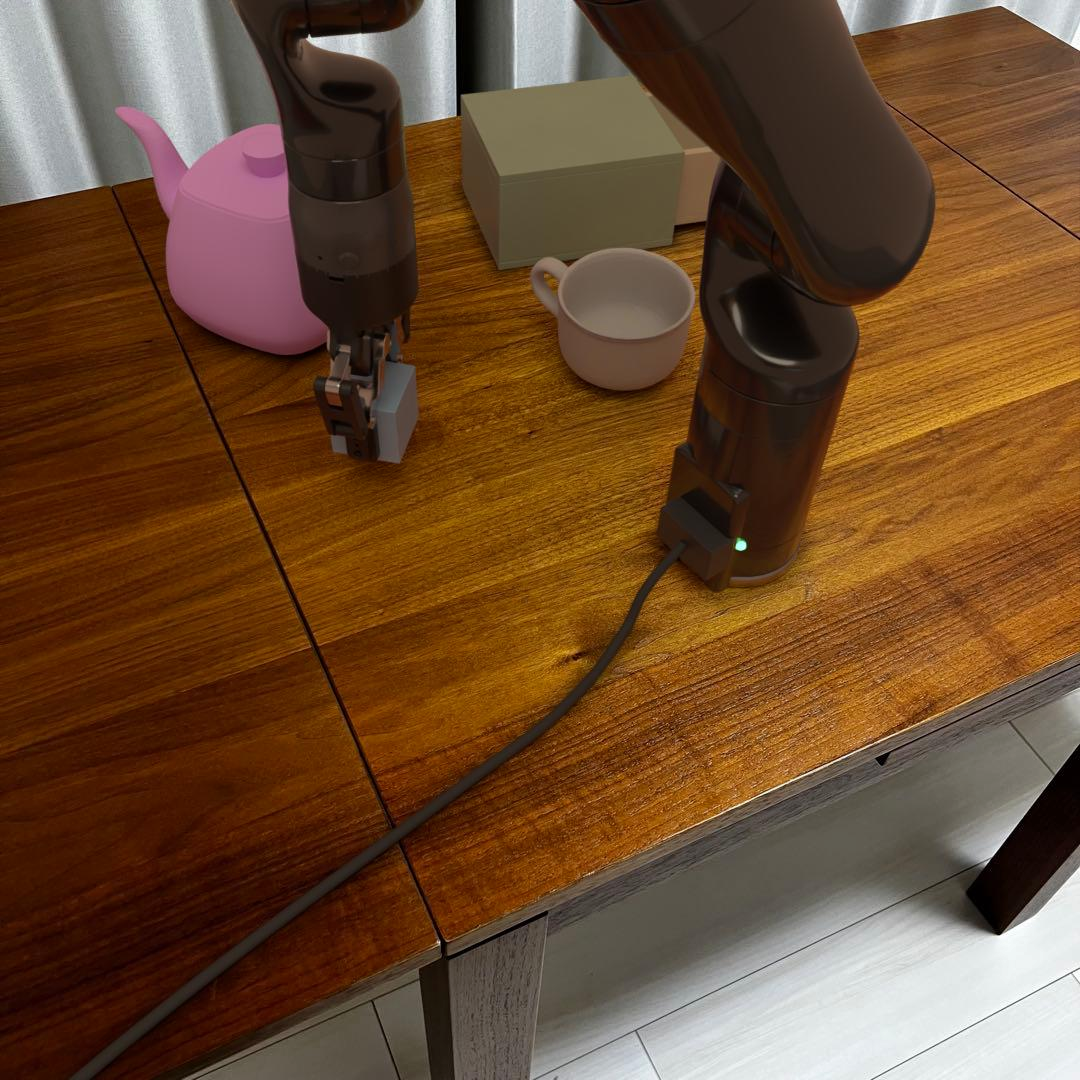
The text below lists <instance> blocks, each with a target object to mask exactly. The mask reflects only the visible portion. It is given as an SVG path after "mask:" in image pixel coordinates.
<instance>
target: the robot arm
mask: <svg viewBox="0 0 1080 1080" xmlns="http://www.w3.org/2000/svg"><path fill="white" fill-rule="evenodd" d="M229 1H230V4H231V6H232V8H233V11H234V12H235V14H236V16H237V18H238V20H239V22H240V25H241V26H242V29H243V30H244V32H245V34H246V36H247V38H248V40H249V43H250V44H251V46H252V49H253V50H254V52H255V54H256V57H257V58H258V61H259V63H260V66H261V68H262V70H263V73H264V75H265V78H266V80H267V84H268V87H269V88H270V92H271V95H272V98H273V102H274V105H275V110H276V114H277V120H278V125H279V126H280V131H281V138H282V144H283V151H284V157H285V164H286V170H287V178H288V210H289V217H290V223H291V229H292V236H293V242H294V249H295V256H296V262H297V268H298V275H299V281H300V288H301V294H302V298H303V301H304V303H305V305H306V306H307V308H308V309H309V310H310V311H311V312H312V313H313V314H314V315H315V316H316V317H317V318H319V319H320V320H321V321H322V322H323V323H324V324H325V325H326V326H327V327H328V331H327V342H326V349H327V352H328V353H329V356H330V357H329V359H330V361H329V362H330V364H329V365H330V366H329V375H328V376H325V375H319V374H317V375H316V376H315V378H314V381H313V384H312V388H313V393H314V397H315V399H316V402H317V404H318V408H319V411H320V415H321V417H322V421H323V423H324V427H325V429H326V432H327V435H329V436H330V435H334V436H336V435H338V436H343V437H345V440H346V447H347V454H348V455H347V454H346V455H347V456H348V458H350V459H351V460H354V461H360V462H365V463H371V464H375V463H377V462H378V461H379V460H378V457H379V455H380V447H379V438H378V429H377V417H376V411H377V398H378V397H379V396H380V394H381V393H382V392H383V391H384V386H385V361H389V362H395V363H401V364H403V362H404V360H405V355H404V350H403V345H404V344H406V345H407V344H408V343H409V340H410V339H411V332H410V331H411V307H412V306H413V305H414V304H415V302H416V301H417V297H418V294H419V289H420V286H419V285H420V283H419V269H418V267H419V266H418V254H417V253H418V252H417V238H416V237H417V236H416V235H417V234H416V219H415V205H414V196H413V191H412V186H411V182H410V178H409V173H408V166H407V151H406V139H405V138H406V137H405V119H404V118H405V117H404V105H403V96H402V91H401V87H400V85H399V82H398V80H397V78H396V76H395V75H394V73H393V72H392V71H391V70H390V69H389V68H387V67H386V66H385V65H383V64H381V63H379V62H378V61H376V60H373V59H370V58H367V57H364V56H359V55H354V54H350V53H344V52H337V51H333V50H328V49H324V48H322V47H319V46H317V45H315V44H312V43H311V42H310V41H309V40H308V39H309V37H310V38H311V39H316V38H317V39H319V38H326V37H328V38H329V37H337V36H338V37H340V36H349V35H351V36H352V35H367V34H380V33H386V32H387V33H388V32H390V31H394V30H397V29H399V28H401V27H403V26H405V25H406V24H407V23H409V22H410V21H411V20H412V19H414V17H415V16H417V14H418V13H419V11H420V10H421V8H422V6H423V4H424V2H425V0H229ZM572 1H573V3H574V4H575V5H576V7H577V8H578V9H579V11H580V12H581V14H582V15H583V16H584V18H585V20H586V21H587V22H588V23H589V24H590V26H591V28H592V29H593V30H594V32H595V33H596V34H597V36H598V37H599V38H600V39H601V41H602V42H603V43H604V45H605V46H606V47H608V49H609V50H610V51H611V52H612V54H614V55H615V57H616V58H617V59H618V60H619V61H620V62H621V64H622V65H623V66H624V67H625V68H626V69H627V70H628V71H629V73H630V74H631V75H633V76H634V77H635V78H636V80H637V81H638V83H639V84H640V85H641V86H642V87H644V88H645V90H647V92H650V93H651V94H652V96H653V97H654V98H656V99H657V100H658V101H659V102H660V103H661V104H662V105H663V106H664V107H665V108H666V109H667V110H668V111H669V112H670V113H671V114H672V115H673V116H674V117H675V118H676V119H677V120H678V121H680V122H681V123H682V124H683V125H684V126H685V127H686V128H687V129H688V130H689V131H691V132H692V133H693V134H694V135H695V136H696V137H697V138H698V139H700V140H701V141H702V142H703V143H704V144H705V145H706V146H707V147H709V148H710V149H711V150H712V151H713V152H714V153H715V154H716V155H718V156H719V157H720V160H719V163H718V166H717V169H716V172H715V176H714V179H713V183H712V188H711V193H710V198H709V204H708V211H707V219H706V221H705V229H704V239H703V250H702V258H701V267H700V277H699V286H698V287H699V288H698V308H699V313H700V318H701V321H702V323H703V324H702V325H703V327H704V339H703V344H702V345H703V346H702V352H701V356H700V363H699V369H698V374H697V378H696V383H695V390H694V396H693V401H692V406H691V411H690V418H689V423H688V427H687V428H688V429H687V435H686V440H685V442H683V443H680V444H679V445H677V446H675V449H674V451H673V458H672V464H671V470H670V475H669V481H668V486H667V487H668V488H667V493H666V500H665V504H664V505H662V506H661V507H660V511H659V517H658V523H657V528H656V537H658V538H659V541H660V542H661V543H662V544H663V545H664V546H665V547H666V548H667V549H668V550H669V551H668V553H667V554H666V555H665V556H664V557H663V558H662V559H661V561H660V562H659V563H658V564H657V565H656V567H654V568H653V570H652V571H651V573H649V574H648V576H647V578H645V580H644V582H643V583H642V584H641V586H640V587H639V589H638V591H637V593H636V594H635V596H634V598H633V600H632V602H631V605H630V607H629V609H628V611H627V614H626V616H625V619H624V620H623V622H622V624H621V626H620V627H619V629H618V630H617V632H616V633H615V635H614V637H613V638H612V640H611V641H610V643H609V645H608V646H607V647H606V649H605V650H604V652H603V653H602V654H601V656H600V657H599V659H598V660H597V661H596V662H595V664H594V665H593V667H592V668H591V669H590V670H589V672H588V673H587V674H586V675H585V676H584V677H583V678H582V679H581V681H579V683H577V685H575V687H573V689H572V690H571V691H570V692H569V693H568V694H567V695H566V696H565V697H564V698H563V699H562V700H561V701H560V702H559V703H558V704H557V705H556V706H555V707H554V708H553V709H552V710H551V711H549V712H548V713H547V714H546V715H545V716H544V717H543V718H542V719H540V720H539V721H538V722H537V723H536V724H535V725H533V726H532V727H530V728H529V729H528V730H526V731H525V732H524V733H522V734H521V735H520V736H518V737H517V738H516V739H514V740H513V741H512V742H510V743H509V744H507V745H506V746H504V747H503V748H502V749H501V750H499V751H498V752H497V753H495V754H493V755H492V756H490V757H489V758H488V759H487V760H485V761H484V762H482V763H481V764H479V765H478V766H477V767H475V768H474V769H472V770H471V772H469V773H467V774H466V775H465V776H464V777H462V778H461V779H459V780H458V781H457V782H456V783H454V784H453V785H451V786H450V787H449V788H447V789H446V790H445V791H443V792H442V793H440V795H437V796H436V797H435V798H434V799H433V800H431V801H430V802H429V803H427V804H425V805H424V806H423V807H422V808H420V809H419V810H417V811H416V812H415V813H413V814H412V815H411V816H409V817H408V818H407V819H405V820H404V821H402V822H401V823H400V824H398V825H397V826H396V827H394V828H393V829H391V830H390V831H389V832H387V833H386V834H385V835H383V836H382V837H381V838H379V839H377V841H374V842H373V844H370V845H369V846H368V847H367V848H366V849H364V850H363V851H362V852H360V853H358V854H357V855H356V856H354V857H353V858H352V859H350V860H349V861H347V863H344V865H342V866H341V867H339V868H338V869H337V870H336V871H334V872H333V873H331V874H330V875H329V876H327V877H326V878H324V879H323V880H321V881H320V882H319V883H317V884H316V885H315V886H314V887H312V888H311V889H310V890H308V891H306V892H305V893H304V894H303V895H301V896H300V897H298V898H297V899H296V900H294V901H293V902H291V904H289V905H288V906H286V907H285V908H284V909H282V910H281V911H280V912H278V913H277V914H275V915H274V916H273V917H272V918H270V919H269V920H268V921H266V922H265V923H263V924H262V925H261V926H259V927H258V928H257V929H256V930H254V931H253V932H252V933H250V934H249V935H248V936H246V938H244V939H243V940H241V941H240V942H239V943H237V944H236V945H234V946H233V947H231V948H230V949H229V950H228V951H226V952H225V953H224V954H223V955H221V956H220V957H219V958H217V959H216V960H215V961H213V962H212V963H211V964H209V965H208V966H207V967H206V968H205V969H203V970H202V971H201V972H199V973H198V974H196V975H195V976H194V977H193V978H191V979H190V980H189V981H188V982H186V983H185V984H183V986H181V987H179V989H177V990H176V991H175V992H173V993H172V994H171V995H170V996H168V997H167V998H166V999H165V1000H163V1001H162V1002H161V1003H160V1004H158V1005H157V1006H156V1007H155V1008H154V1009H152V1010H151V1011H150V1012H148V1013H147V1014H146V1015H145V1016H144V1017H142V1018H141V1019H139V1020H138V1021H137V1022H136V1023H135V1024H133V1025H132V1026H131V1027H130V1028H128V1029H127V1030H126V1031H125V1032H124V1033H123V1034H121V1035H120V1036H119V1037H118V1038H116V1039H115V1040H114V1041H113V1042H112V1043H110V1044H109V1045H108V1046H107V1047H105V1048H104V1049H103V1050H102V1051H101V1052H99V1053H98V1054H97V1055H95V1056H94V1057H93V1058H92V1059H91V1060H90V1061H89V1062H87V1063H86V1064H84V1066H82V1067H81V1068H80V1069H79V1070H78V1071H76V1072H75V1073H74V1074H73V1075H72V1076H70V1077H69V1078H68V1079H67V1080H91V1079H93V1078H94V1077H95V1076H96V1075H98V1074H99V1073H100V1072H101V1071H102V1070H104V1069H105V1068H106V1067H107V1066H108V1065H109V1064H111V1063H112V1062H113V1061H114V1060H115V1059H117V1058H118V1057H119V1056H120V1055H122V1054H123V1053H124V1052H125V1051H126V1050H128V1049H129V1048H130V1047H131V1046H133V1045H134V1044H135V1043H136V1042H137V1041H138V1040H140V1039H141V1038H142V1037H144V1035H146V1034H147V1033H148V1032H149V1031H151V1030H152V1029H153V1028H154V1027H155V1026H157V1025H158V1024H159V1023H160V1022H162V1021H163V1020H164V1019H166V1018H167V1017H168V1016H169V1015H171V1013H173V1012H175V1010H177V1009H178V1008H179V1007H180V1006H182V1005H183V1004H184V1003H185V1002H187V1001H188V1000H189V999H191V998H192V997H193V996H194V995H196V994H197V993H198V992H199V991H201V990H202V989H204V988H205V987H206V986H207V985H208V984H210V983H211V982H212V981H213V980H215V979H216V978H217V977H219V976H220V975H221V974H223V972H225V971H226V970H228V969H229V968H231V966H233V965H234V964H235V963H237V962H238V961H239V960H240V959H242V958H243V957H245V956H246V955H247V954H249V953H250V952H252V950H254V949H255V948H256V947H258V946H259V945H261V944H262V943H263V942H264V941H265V940H267V939H268V938H269V937H271V936H272V935H274V934H275V933H277V931H279V930H280V929H281V928H283V927H284V926H285V925H287V924H288V923H289V922H291V921H292V920H293V919H295V918H296V917H297V916H299V915H300V914H301V913H302V912H304V911H305V910H307V909H308V908H309V907H311V906H313V905H314V904H315V903H317V901H319V900H320V899H322V898H323V897H324V896H326V895H327V894H328V893H329V892H331V891H333V890H334V889H335V888H337V887H338V886H339V885H341V884H342V883H343V882H345V881H346V880H348V879H349V878H350V877H351V876H353V875H354V874H355V873H357V872H358V871H359V870H361V869H362V868H364V867H365V866H367V864H369V863H370V862H372V861H373V860H374V859H376V858H377V857H379V856H380V855H381V854H382V853H384V852H385V851H387V850H388V849H389V848H390V847H392V846H394V845H395V844H396V843H397V842H399V841H400V840H401V839H403V838H404V837H405V836H407V835H408V834H410V833H411V832H412V831H413V830H415V829H417V828H418V827H419V826H421V825H422V824H423V823H425V822H426V821H427V820H428V819H430V818H431V817H432V816H434V815H435V814H437V813H438V812H440V811H441V810H443V809H444V808H445V807H446V806H448V805H449V804H450V803H451V802H453V801H454V800H455V799H457V798H458V797H460V796H461V795H462V794H464V793H465V792H467V791H468V790H469V789H470V788H471V787H473V786H474V785H475V784H477V783H478V782H479V781H481V780H482V779H483V778H485V777H486V776H487V775H489V774H490V773H491V772H493V771H494V770H496V769H497V768H498V767H500V766H501V765H502V764H504V763H505V762H507V761H508V760H510V759H511V758H512V757H514V756H515V755H516V754H518V753H520V751H522V750H523V749H525V748H526V747H527V746H529V745H530V744H531V743H533V742H534V741H535V740H537V739H538V738H539V737H540V736H542V735H543V734H544V733H545V732H546V731H548V730H549V729H550V728H551V727H553V725H554V724H555V723H557V722H558V721H559V720H560V719H561V718H562V717H563V716H564V715H565V714H567V712H568V711H570V710H571V708H572V707H574V706H575V704H576V703H577V702H578V701H579V700H580V699H581V698H582V697H583V696H584V695H585V694H586V693H587V692H588V691H589V690H590V688H592V686H593V685H594V684H595V683H596V682H597V681H598V679H599V678H600V677H601V675H602V674H603V673H604V671H605V670H606V669H607V668H608V667H609V665H610V663H611V662H612V661H613V659H614V658H615V656H616V655H617V653H618V652H619V650H620V648H621V647H622V645H623V644H624V643H625V641H626V639H627V638H628V636H629V635H630V633H631V631H632V630H633V628H634V626H635V624H636V622H637V619H638V617H639V615H640V612H641V610H642V608H643V606H644V604H645V602H646V600H647V598H648V597H649V595H650V593H651V592H652V590H653V589H654V587H655V586H656V585H657V584H658V582H659V581H660V580H661V578H662V577H663V576H664V575H665V573H666V572H667V571H669V569H670V568H671V567H672V566H673V565H674V563H675V562H676V561H677V560H678V559H679V561H680V562H681V563H682V564H683V565H684V566H685V567H686V568H688V569H689V570H690V571H691V572H693V573H694V574H695V575H696V576H697V577H698V578H699V579H700V580H701V581H702V582H703V583H704V584H706V585H707V586H708V587H709V588H710V589H711V590H712V591H713V592H715V593H718V592H721V591H723V590H724V589H725V588H728V587H734V588H752V587H759V586H762V585H765V584H769V583H772V582H773V581H776V580H777V579H779V578H781V577H782V576H784V575H785V574H786V573H787V572H788V571H789V570H790V569H792V566H793V565H794V563H795V562H796V559H797V556H798V554H799V551H800V547H801V544H802V536H803V532H804V529H805V526H806V522H807V521H808V517H809V516H808V515H809V513H810V510H811V505H812V502H813V499H814V496H815V493H816V489H817V486H818V483H819V480H820V477H821V473H822V470H823V467H824V463H825V460H826V457H827V453H828V450H829V446H830V444H831V440H832V437H833V433H834V430H835V427H836V424H837V420H838V418H839V414H840V411H841V409H842V405H843V401H844V399H845V395H846V392H847V388H848V386H849V383H850V378H851V375H852V374H853V373H852V372H853V370H854V366H855V363H856V359H857V357H858V352H859V347H860V340H861V339H860V336H861V334H860V327H859V323H858V320H857V317H856V314H855V312H854V310H853V308H852V307H856V306H861V305H865V304H868V303H871V302H873V301H876V300H878V299H881V298H882V297H884V296H885V295H887V294H889V293H890V292H892V291H893V290H894V289H896V288H897V287H898V286H900V285H901V283H903V282H904V281H905V280H906V279H907V278H908V277H909V276H910V274H911V273H912V272H913V271H914V269H915V267H917V264H918V263H919V261H920V260H921V258H922V257H923V254H924V252H925V250H926V247H927V245H928V243H929V241H930V237H931V234H932V230H933V227H934V223H935V217H936V207H937V203H936V186H935V181H934V177H933V174H932V172H931V169H930V167H929V165H928V163H927V161H926V160H925V158H924V157H923V155H922V154H921V152H920V151H919V150H918V148H917V147H916V145H915V144H914V142H913V141H912V139H911V138H910V137H909V135H908V134H907V132H906V131H905V130H904V128H903V126H902V125H901V124H900V122H899V121H898V119H897V118H896V116H895V114H894V113H893V111H892V110H891V108H890V107H889V106H888V104H887V103H886V101H885V100H884V98H883V97H882V95H881V93H880V92H879V89H878V88H877V86H876V85H875V83H874V81H873V79H872V78H871V76H870V73H869V72H868V70H867V67H866V66H865V64H864V61H863V58H862V57H861V55H860V53H859V50H858V47H857V46H856V42H855V41H854V38H853V35H852V33H851V30H850V28H849V26H848V24H847V23H848V22H847V21H846V18H845V16H844V14H843V12H842V9H841V7H840V5H839V2H838V0H572ZM350 375H357V376H363V377H368V376H371V375H372V382H370V381H364V380H358V379H352V378H350ZM360 397H362V398H363V399H364V400H365V409H363V407H362V403H361V399H360Z"/></svg>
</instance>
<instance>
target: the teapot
mask: <svg viewBox="0 0 1080 1080" xmlns="http://www.w3.org/2000/svg"><path fill="white" fill-rule="evenodd" d="M115 114H116V115H117V117H118V118H119V119H120V120H121V121H122V122H123V123H124V124H125V125H126V126H127V127H129V128H130V130H132V132H133V133H134V134H135V135H136V137H137V139H138V140H139V141H140V142H141V145H142V147H143V149H144V151H145V153H146V156H147V160H148V162H149V165H150V170H151V173H152V177H153V183H154V187H155V190H156V194H157V197H158V200H159V203H160V206H161V208H162V210H163V212H164V213H165V215H166V218H167V219H168V220H169V223H168V227H167V233H166V240H165V242H166V243H165V267H166V277H167V283H168V287H169V293H170V295H171V297H172V298H173V300H174V302H175V304H176V305H177V307H178V308H179V309H181V310H182V311H183V312H184V314H186V315H187V316H188V317H189V318H190V319H191V320H192V321H194V322H195V323H196V324H198V325H199V326H201V327H202V328H205V330H208V331H210V332H212V333H214V334H216V335H219V336H221V337H222V338H225V339H228V340H230V341H232V342H235V343H237V344H240V345H243V346H246V347H250V348H252V349H255V350H258V351H262V352H266V353H271V354H275V355H284V356H289V355H290V356H291V355H292V356H293V355H298V354H303V353H306V352H309V351H312V350H314V349H316V348H318V347H319V346H321V345H323V344H325V343H327V331H328V327H327V326H326V325H325V324H324V323H323V322H322V321H321V320H320V319H319V318H317V317H316V316H315V315H314V314H313V313H312V312H311V311H310V310H309V309H308V308H307V306H306V305H305V303H304V301H303V298H302V294H301V288H300V281H299V275H298V268H297V262H296V256H295V249H294V242H293V236H292V229H291V223H290V217H289V210H288V178H287V170H286V164H285V157H284V151H283V144H282V138H281V131H280V126H279V124H273V123H263V124H257V125H254V126H250V127H248V128H245V129H242V130H240V131H239V132H237V133H234V134H232V135H230V136H229V137H226V138H225V139H224V140H222V141H220V142H218V143H217V144H215V145H214V146H212V147H211V148H210V149H208V150H207V151H206V152H205V153H203V154H202V155H201V156H200V157H199V158H198V159H197V160H196V161H195V162H194V163H193V164H192V165H191V166H190V167H188V165H187V164H186V163H185V161H184V160H183V158H182V156H181V155H180V153H179V152H178V150H177V148H176V147H175V145H174V143H173V142H172V140H171V139H170V137H169V136H168V134H167V133H166V131H165V130H164V129H163V128H162V126H160V124H159V123H158V122H157V121H156V120H155V119H153V117H151V116H150V115H148V114H146V113H145V112H142V111H140V110H139V109H135V108H132V107H129V106H118V107H116V108H115Z"/></svg>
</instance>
